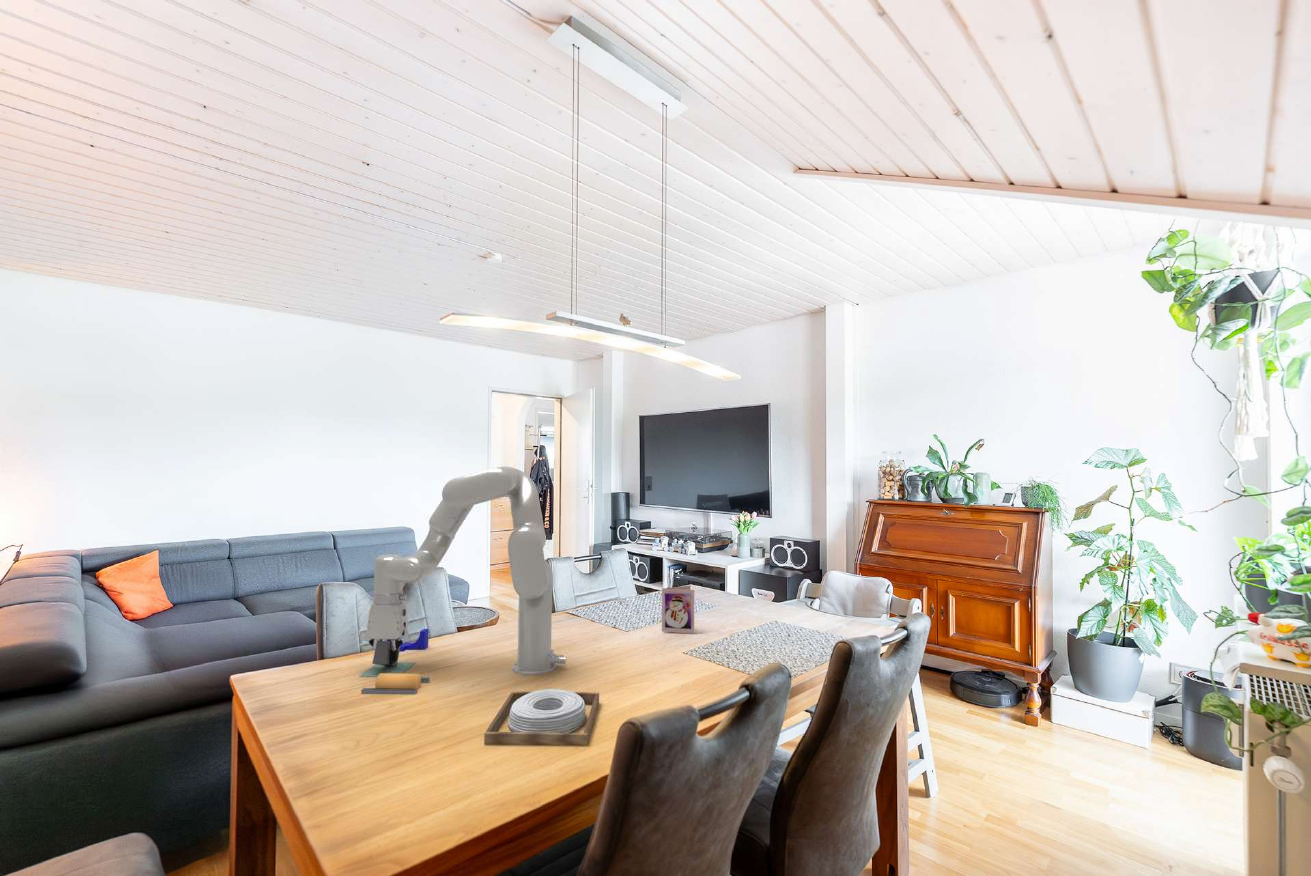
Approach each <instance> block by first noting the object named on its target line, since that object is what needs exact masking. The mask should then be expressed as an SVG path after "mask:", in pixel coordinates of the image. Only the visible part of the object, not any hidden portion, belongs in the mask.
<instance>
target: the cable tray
mask: <svg viewBox="0 0 1311 876" xmlns="http://www.w3.org/2000/svg"><path fill="white" fill-rule="evenodd" d="M531 692H532V691H516V690H515V691H513V690H512V691H511V692H510V694H509V695H508V697H507V698H506V700H505V702H504V703H503V705H502V706H501V708H500V709H499V710H498V712H497V713H496V715H495V717H494V718H493V720H492V721H491V723H490V724H489V726H488V727H487V729H486V730H485V732H484V736H483V739H484V740H483V742H484V743H483V745H495V746H496V745H500V746H501V745H502V746H509V745H511V746H512V745H513V746H514V745H515V746H516V745H517V746H518V745H519V746H585V747H586V746H588V742H589V739H590V736H591V732H592V729H593V726H594V722H595V719H596V716H597V711H598V708H599V705H600V692H598V691H597V692H594V691H593V692H591V691H589V692H588V691H586V692H585V691H584V692H581V691H575V692H574V691H572V692H573V693H576V694H577V695H579V696H580V697H581V698H582V699H583V700H584V703H585V706H586V705H588V706H590V705H591V708H590V711H589V714H588V718H587V721H586V724H585V727H584V730H583V732H571V733H543V732H513V731H498V730H499V728H500V727H501V725H502V723H503V722H504V720H505V719H506V718H507V716H508V715H509V714H510V710H511V707H512V705H513V703H514V702H515V701H516V700H517V699H519V698H521V697H522V696H524V695H526V694H529V693H531Z"/></svg>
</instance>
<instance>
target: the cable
mask: <svg viewBox="0 0 1311 876" xmlns="http://www.w3.org/2000/svg"><path fill="white" fill-rule="evenodd" d="M530 692H531V693H529V694H526V695H524V696H522V697H521V698H519V699H517V700H516V701H515V702H514V703H513V705H512V707H511V710H510V711H509V714H508V715H509V716H508V718H507V726H508V728H509V729H510V731H511V732H543V733H574V732H575V730H578V729H579V728H580V727H581V726H583V724H584V723H585V720H586V705H585V703H584V700H583V699H582V698H581V697H580V696H579V695H577V694H576V693H573V692H574V691H571V690H567V689H558V688H548V689H547V688H546V689H540V690H535V691H530Z"/></svg>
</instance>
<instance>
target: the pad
mask: <svg viewBox="0 0 1311 876" xmlns="http://www.w3.org/2000/svg"><path fill="white" fill-rule="evenodd" d="M416 664H417V663H416V662H415V661H414V662H413V661H410V662H407V661H405V662H404V661H398V662H397V666H384V665H378V664H373V665H372V666H371V667H370V668H368V669H367V670H365V671H364V672H363V673H361V674H360V675H359V676H358V677H359V678H368V677H369V678H377V677H378V675H379V674H381V673H390V674H405V673H406V672H407V671H408V670H409V669H411V668H412V667H413V666H414V665H416Z"/></svg>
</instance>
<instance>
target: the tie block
mask: <svg viewBox="0 0 1311 876" xmlns="http://www.w3.org/2000/svg"><path fill="white" fill-rule="evenodd" d="M400 647H401V646H400ZM400 647H399V648H398V659H397V661H396V662H395V663H394V664H392V665H390V651H391V642H390V641H387V640H383V641H377V644H376V649H375V650H374V655H373V658H372V665H375V664H378V665H384V666H397V662H399V656H400Z"/></svg>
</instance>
